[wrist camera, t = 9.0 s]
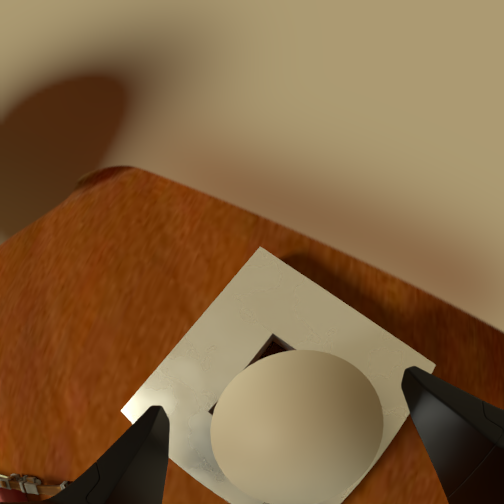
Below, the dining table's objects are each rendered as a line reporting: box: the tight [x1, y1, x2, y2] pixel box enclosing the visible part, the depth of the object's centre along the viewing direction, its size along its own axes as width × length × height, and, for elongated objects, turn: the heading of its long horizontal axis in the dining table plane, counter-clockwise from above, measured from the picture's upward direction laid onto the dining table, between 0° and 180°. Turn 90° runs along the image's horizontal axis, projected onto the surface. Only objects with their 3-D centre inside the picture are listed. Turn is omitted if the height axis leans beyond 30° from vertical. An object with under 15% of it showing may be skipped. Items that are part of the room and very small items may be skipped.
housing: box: [121, 247, 436, 504], centre depth 16 cm, size 14×14×3 cm
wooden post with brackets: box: [0, 473, 68, 496], centre depth 12 cm, size 2×8×4 cm, turn 103°
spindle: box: [210, 350, 383, 504], centre depth 11 cm, size 4×4×13 cm
